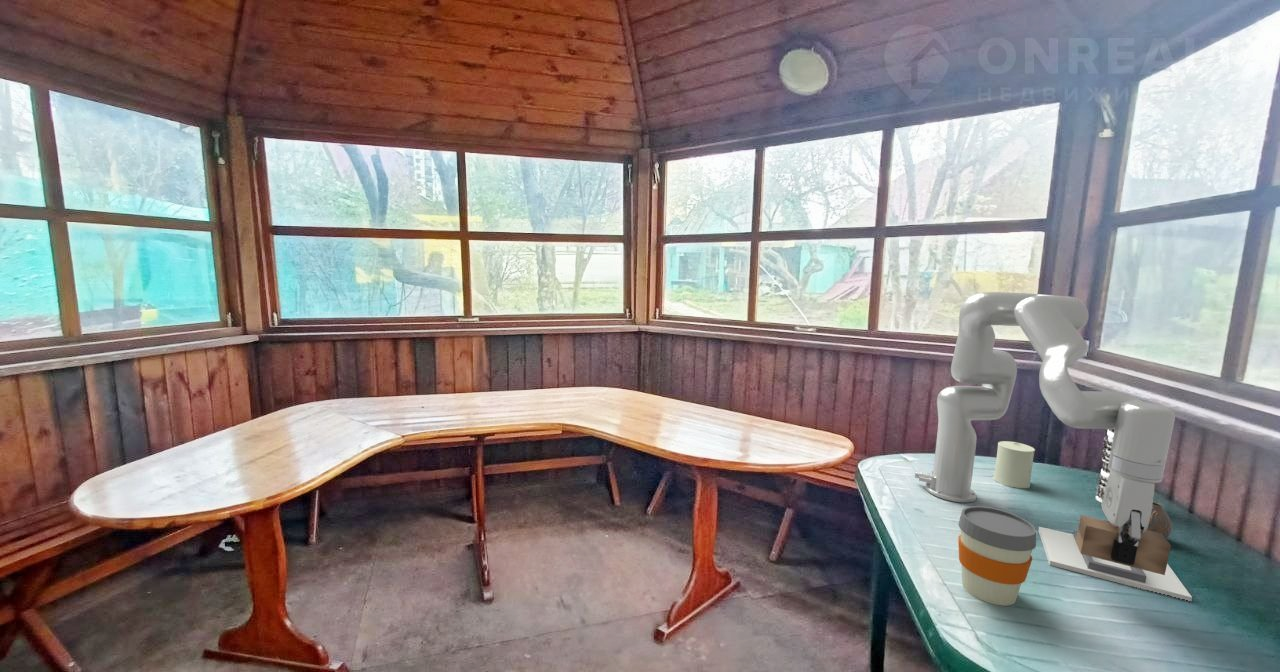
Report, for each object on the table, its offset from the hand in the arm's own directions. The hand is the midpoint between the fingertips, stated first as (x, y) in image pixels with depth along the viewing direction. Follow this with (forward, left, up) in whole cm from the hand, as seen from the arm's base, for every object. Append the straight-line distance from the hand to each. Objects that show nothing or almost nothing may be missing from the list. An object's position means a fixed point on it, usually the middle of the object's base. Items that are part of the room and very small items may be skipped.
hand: (1118, 553), depth 99 cm
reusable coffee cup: (-21, -11, -10) cm, 25 cm away
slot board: (+2, +17, -9) cm, 19 cm away
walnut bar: (0, 0, -1) cm, 1 cm away
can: (-12, +59, -10) cm, 60 cm away
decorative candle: (+12, +59, -10) cm, 61 cm away
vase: (+14, +38, -10) cm, 41 cm away
